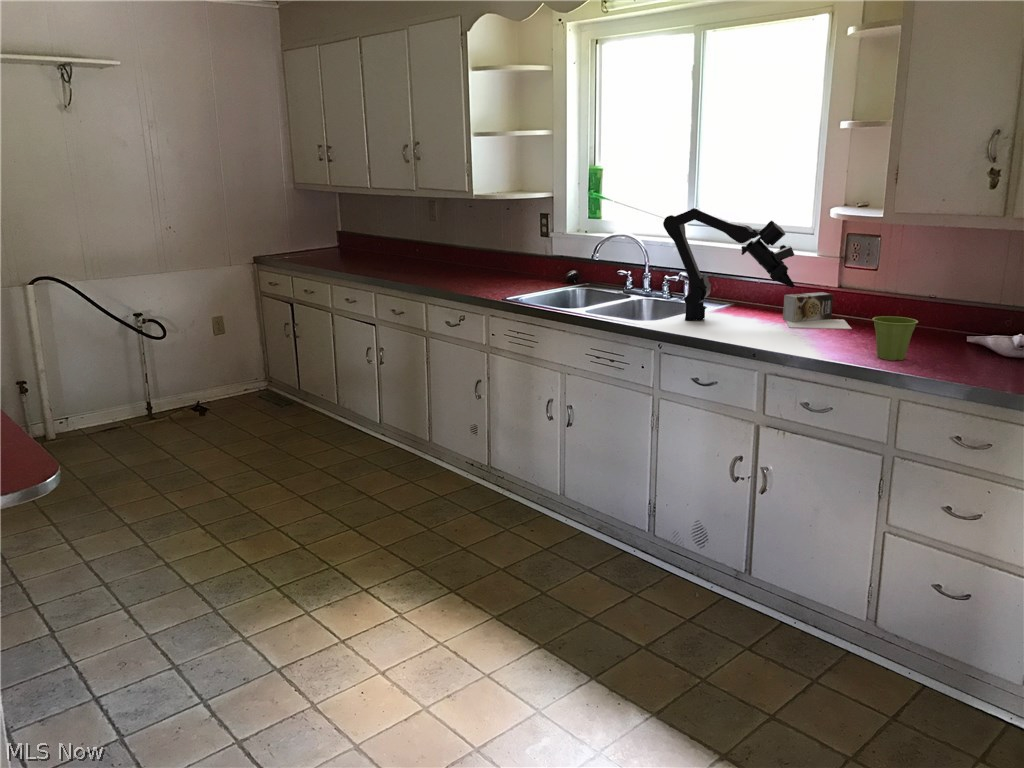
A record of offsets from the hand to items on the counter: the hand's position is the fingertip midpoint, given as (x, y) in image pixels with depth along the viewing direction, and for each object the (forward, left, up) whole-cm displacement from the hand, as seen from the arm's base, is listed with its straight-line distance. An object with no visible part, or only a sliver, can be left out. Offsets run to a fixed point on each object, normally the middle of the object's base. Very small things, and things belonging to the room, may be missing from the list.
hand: (793, 286), depth 282 cm
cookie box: (-1, +3, -8) cm, 9 cm away
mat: (+9, 0, -13) cm, 16 cm away
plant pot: (+23, -50, -13) cm, 56 cm away
